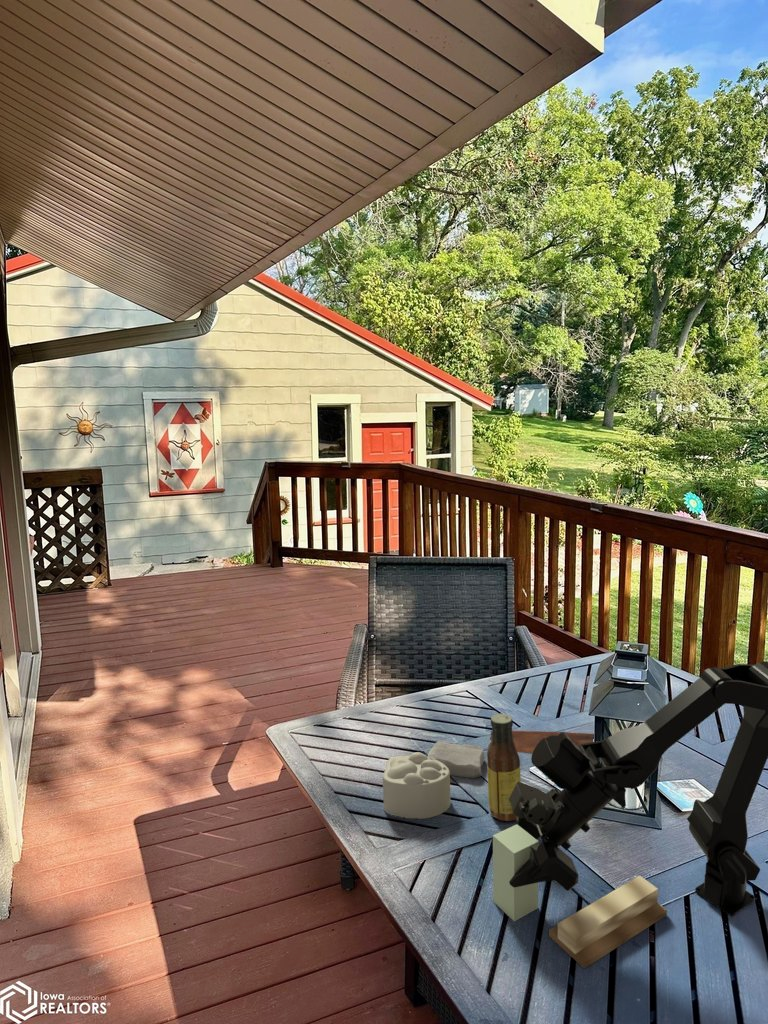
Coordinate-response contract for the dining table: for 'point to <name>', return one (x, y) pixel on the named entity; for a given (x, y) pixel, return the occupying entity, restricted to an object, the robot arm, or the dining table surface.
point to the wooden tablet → (530, 739)
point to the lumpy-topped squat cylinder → (416, 786)
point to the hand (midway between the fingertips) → (506, 868)
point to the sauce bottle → (502, 767)
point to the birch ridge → (609, 921)
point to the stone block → (459, 758)
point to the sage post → (513, 872)
